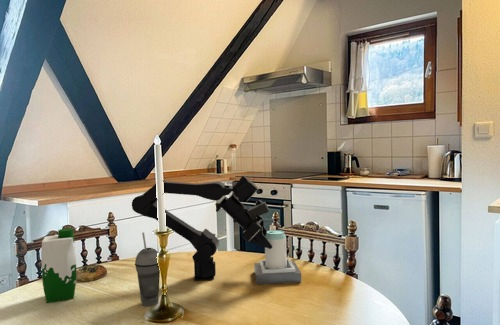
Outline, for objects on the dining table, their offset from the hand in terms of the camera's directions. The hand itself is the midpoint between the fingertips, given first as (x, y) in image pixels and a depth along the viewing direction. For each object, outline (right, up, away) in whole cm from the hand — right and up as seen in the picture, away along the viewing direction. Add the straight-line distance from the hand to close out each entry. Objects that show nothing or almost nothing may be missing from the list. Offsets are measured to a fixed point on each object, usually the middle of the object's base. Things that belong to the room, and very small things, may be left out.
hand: (271, 244), depth 122 cm
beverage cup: (-35, -13, -18) cm, 41 cm away
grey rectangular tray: (+2, -11, 0) cm, 11 cm away
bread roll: (-62, -13, +6) cm, 64 cm away
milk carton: (-64, -13, -11) cm, 66 cm away
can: (+2, -8, 0) cm, 8 cm away
